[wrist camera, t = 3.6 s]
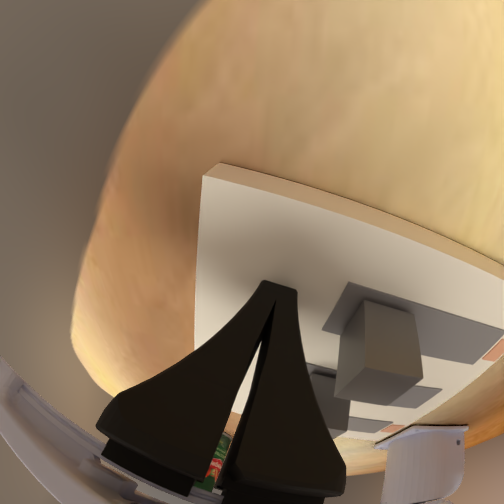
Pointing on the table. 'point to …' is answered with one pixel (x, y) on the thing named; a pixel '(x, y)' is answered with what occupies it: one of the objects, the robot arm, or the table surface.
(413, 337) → the dark grey block
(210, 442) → the robot arm
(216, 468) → the canned tomato
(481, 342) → the switch panel
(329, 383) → the gray rectangular block
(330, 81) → the table surface
